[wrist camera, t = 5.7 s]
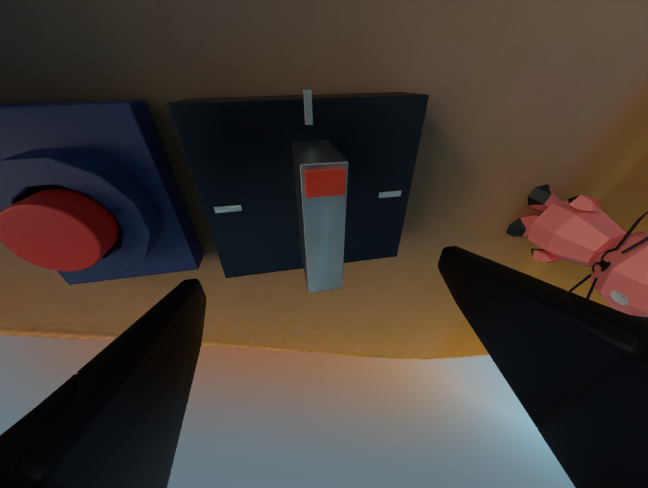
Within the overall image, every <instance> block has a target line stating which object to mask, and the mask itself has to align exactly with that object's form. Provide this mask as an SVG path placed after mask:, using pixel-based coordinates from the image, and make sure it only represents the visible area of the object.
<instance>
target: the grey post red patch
mask: <svg viewBox="0 0 648 488" xmlns="http://www.w3.org/2000/svg"><path fill="white" fill-rule="evenodd" d="M292 146H293V159H294V172H295V185H296V197H297V210H298V223H299V236H300V248H301V254H302V260H303V266H304V272H305V278H306V284H307V290H308V293H311V292H318V291H326V290H333V289H341V288H342V280H343V259H344V239H345V219H346V199H347V179H348V161H347V160H346V159H345V158H344V157H343V156H342V155H341V153H340V152H339V151H338V150H337V149H336V148H335V147H334V146H333V145H332V144H331V143H330V141H329V140H327V139H326V140H305V141H292Z"/></svg>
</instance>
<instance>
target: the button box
mask: <svg viewBox="0 0 648 488" xmlns="http://www.w3.org/2000/svg"><path fill="white" fill-rule="evenodd" d="M48 189H66V190H72V191H75V192H79V193H82V194H84V195H87V196H89V197H91V198H93V199H94V200H96V201H98V202H99V203H101V204H102V205H103V206H104V207H106V208H107V209H108V210H109V211H110V212H111V214H112V215H113V216H114V218H115V219H116V221H117V223H118V226H119V237H118V240H117V242H116V243H115V244H114V245H113V246H112V247H111V248H110V249H109V250H108V251H107V252H106V254H105V255H104V256H103V257H102V258H101V259H100V260H99V261H98V262H97V263H96V264H94V265H93V266H91V267H89V268H86V269H83V270H78V271H58V273H59V274H60V275H61V276H62V277H63V278H64V279H65V281H66V282H67V283H68V284H69V285H71V284H80V283H88V282H96V281H104V280H113V279H121V278H129V277H137V276H145V275H154V274H162V273H170V272H178V271H187V270H195V269H199V266H200V264H201V261H202V258H203V256H204V254H203V251H202V249H201V246H200V243H199V241H198V238H197V236H196V233H195V230H194V228H193V225H192V223H191V220H190V217H189V215H188V212H187V209H186V207H185V204H184V202H183V199H182V196H181V194H180V191H179V189H178V186H177V183H176V181H175V178H174V176H173V173H172V170H171V168H170V165H169V162H168V160H167V157H166V155H165V152H164V149H163V147H162V144H161V142H160V139H159V136H158V134H157V131H156V128H155V126H154V123H153V121H152V118H151V115H150V113H149V110H148V108H147V105H146V102H145V101H144V100H125V101H92V102H58V103H25V104H0V212H1V211H2V210H4V209H5V208H7V207H9V206H11V205H13V204H15V203H17V202H19V201H21V200H23V199H25V198H27V197H29V196H32V195H34V194H36V193H38V192H40V191H43V190H48Z"/></svg>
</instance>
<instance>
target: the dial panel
mask: <svg viewBox="0 0 648 488" xmlns="http://www.w3.org/2000/svg"><path fill="white" fill-rule="evenodd" d="M427 101H428V95H425V94H415V93H405V92H390V93H357V94H324V95H312V90H303V95H290V96H257V97H224V98H190V99H184V100H179V101H175V102H171V103H167V106H168V109H169V112H170V115H171V118H172V120H173V123H174V126H175V129H176V132H177V135H178V138H179V141H180V144H181V147H182V150H183V153H184V156H185V159H186V162H187V165H188V168H189V171H190V173H191V176H192V179H193V182H194V185H195V188H196V191H197V194H198V197H199V200H200V203H201V206H202V209H203V212H204V215H205V218H206V221H207V223H208V226H209V229H210V232H211V235H212V238H213V241H214V244H215V247H216V250H217V253H218V256H219V259H220V262H221V265H222V268H223V271H224V274H225V276H226V278H230V277H238V276H246V275H253V274H261V273H269V272H277V271H285V270H292V269H300V268H304V266H303V260H302V254H301V248H300V236H299V223H298V210H297V197H296V185H295V172H294V159H293V146H292V141H305V140H326V139H327V140H329V141H330V143H331V144H332V145H333V146H334V147H335V148H336V149H337V150H338V151H339V152H340V153H341V155H342V156H343V157H344V158H345V159H346V160H347V161H348V179H347V199H346V219H345V239H344V259H343V263H347V262H355V261H363V260H370V259H378V258H386V257H394V256H397V252H398V247H399V242H400V237H401V232H402V227H403V222H404V217H405V212H406V207H407V202H408V197H409V192H410V187H411V182H412V177H413V172H414V167H415V162H416V157H417V152H418V147H419V142H420V137H421V132H422V127H423V122H424V116H425V111H426V106H427Z"/></svg>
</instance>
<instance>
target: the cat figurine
mask: <svg viewBox="0 0 648 488" xmlns="http://www.w3.org/2000/svg"><path fill="white" fill-rule="evenodd" d="M528 206H530V207H532V208H535V209H537V210H540V211H544V212H543V213H542V214H541V215H540V216H537V215H532V216H527V217H522V218H519V219H518V220H516V221H515V222H513V223H512V224H511V225H509V227H508V230H507V234H509V235H511V236H528V237H527V239H528V240H529V241H531V242H533V243H534V244H536V245H538V246H539V247H541V248H542V249H531V251H532V257H533V258H534V259H536V260H538V261H540V262H555V261H559V259H562V260H566V261H570V262H574V263H577V264H581V265H585V266H589V267H592V273H591V274H589V275H588V276H587V277H585V278H584V279H583V280H582V281H580V282H579V283H578V284H577V285H575V286H574V287H573V288H571V289H570V290H569V292H572V291H573V290H574V289H575V288H577V287H578V286H579V285H581V284H582V283H583V282H584V281H586V280H587V279H588V278H590V282H591V283H592V286H591V288H590V290H589V293H588V295H587V297H586V298H587V299H589V297H590V295H591V293H592V291H593V289H594V287H595V288H596V289H597V291H598V292H599V293H600V294H601V295H602V297H603V298H604V299H605V300H606V301H607V303H608V304H609V305H610V306H611V307H612V308H613V309H615V310H618V311H621V312H623V313H626V314H629V315H632V316H634V317H637V318H640V319H643V320H646V321H648V231H646V232H640V233H634V234H630V233H631V232H632V231H633V230H634V228H635V227H636V226H637V224H638V223H639V222H640V221H641V220H642V218H643V217H644V216H645V215H646V214H647V213H648V211H647V212H646V213H645V214H644V215H643V216H641V217H640V218H639V219H638V220H637V221H636V222H635V223H634V224H633V226H632V227H631V228H630V230H629V231H628V232H627V233H626V232H625V231H624V230H623V229H622V228H621V227H620V226H619V225H617V224H616V223H615V222H614V221H613V220H612V219H611V218H610V217H609V216H608V215H606V214H605V213H604V212H603V211H602V210H601V209H600V202H599V201H597V200H595V199H594V198H592V197H590V196H588V195H579V196H576V197H573V198H570V199H568V200H567V201H561V200H560V199H559V198H558V197H557V196H556V194H555V193H554V192H553V190H552V189H551V187H550V186H549V184H548V185H544V186H540V187H536V188H535V189H534V190H533V191H532V192H531V194H530V195H529V196H528ZM543 249H544V250H543Z"/></svg>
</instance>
